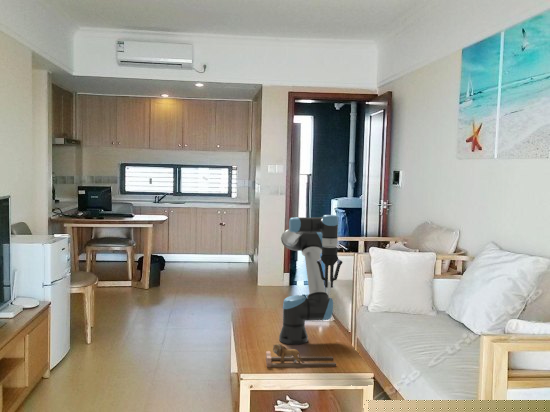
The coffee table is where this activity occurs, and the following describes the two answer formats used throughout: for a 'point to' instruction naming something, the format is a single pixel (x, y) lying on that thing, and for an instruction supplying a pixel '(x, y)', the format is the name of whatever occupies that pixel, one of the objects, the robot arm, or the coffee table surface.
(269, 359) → the track
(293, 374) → the coffee table surface
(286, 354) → the lion figurine
